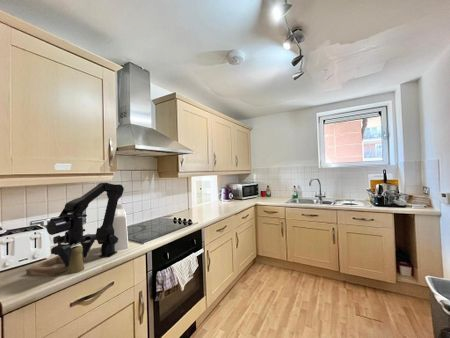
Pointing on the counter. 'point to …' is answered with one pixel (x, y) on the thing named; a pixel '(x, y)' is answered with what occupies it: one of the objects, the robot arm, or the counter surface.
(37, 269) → the socket block
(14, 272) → the counter surface
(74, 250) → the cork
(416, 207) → the counter surface
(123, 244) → the milk
